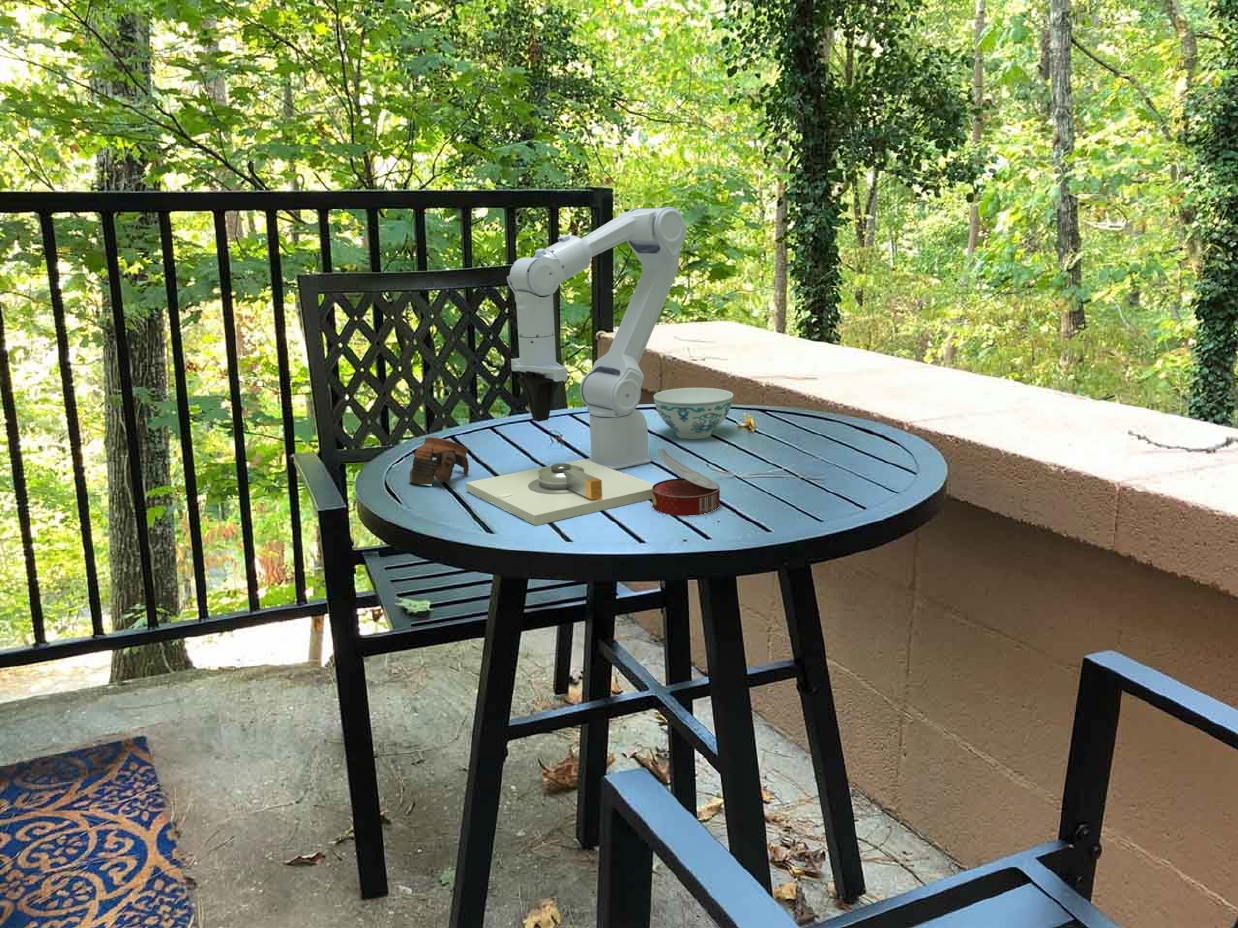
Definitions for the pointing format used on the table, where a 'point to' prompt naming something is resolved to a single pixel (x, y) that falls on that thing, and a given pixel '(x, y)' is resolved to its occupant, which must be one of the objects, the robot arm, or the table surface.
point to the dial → (570, 480)
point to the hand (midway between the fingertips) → (540, 420)
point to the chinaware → (693, 410)
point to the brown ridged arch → (437, 461)
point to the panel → (559, 493)
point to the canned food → (685, 491)
